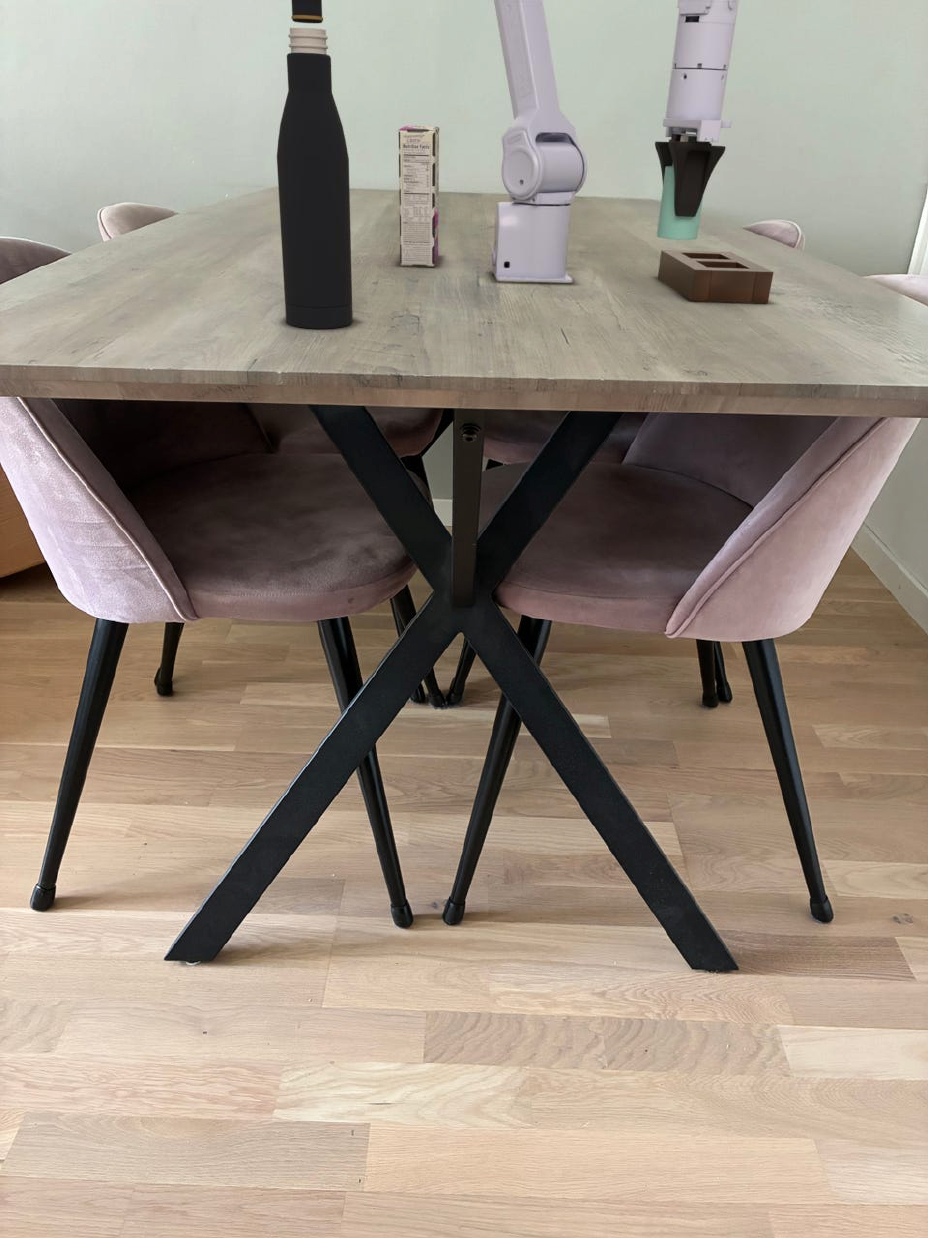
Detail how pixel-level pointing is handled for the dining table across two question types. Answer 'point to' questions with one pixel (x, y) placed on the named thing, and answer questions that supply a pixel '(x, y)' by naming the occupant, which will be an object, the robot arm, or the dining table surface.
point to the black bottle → (313, 184)
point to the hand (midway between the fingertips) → (679, 213)
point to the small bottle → (668, 221)
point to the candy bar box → (419, 195)
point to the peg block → (715, 276)
